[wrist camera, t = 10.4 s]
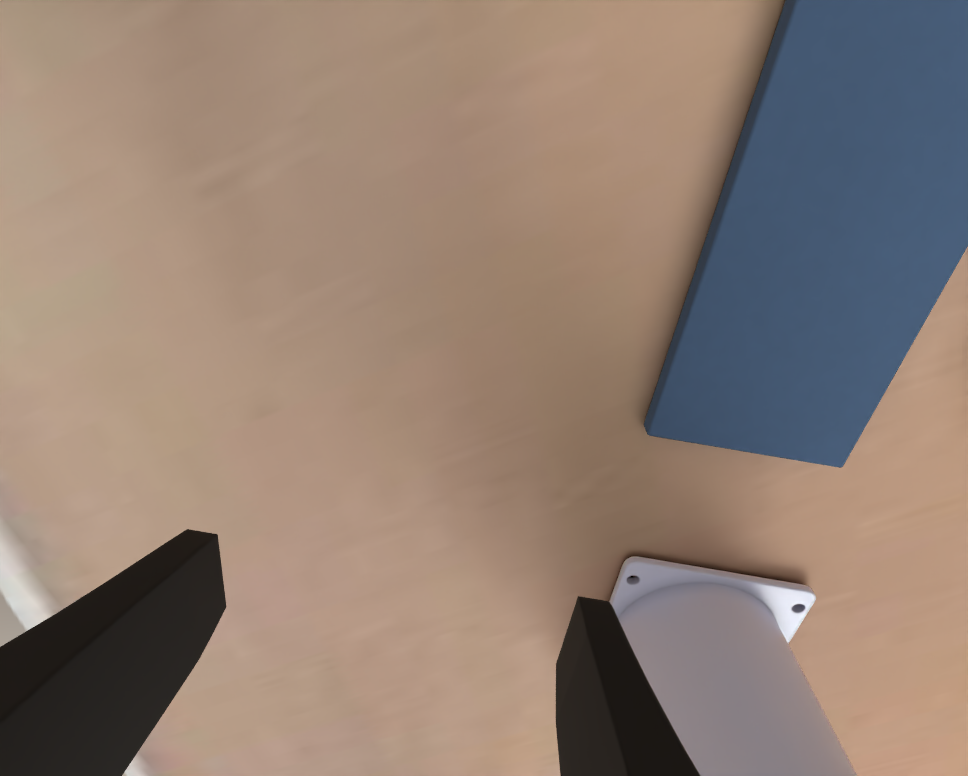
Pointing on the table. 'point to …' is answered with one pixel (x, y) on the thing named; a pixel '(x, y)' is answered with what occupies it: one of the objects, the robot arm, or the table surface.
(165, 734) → the table surface
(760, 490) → the table surface
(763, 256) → the blue flat rectangular slab
